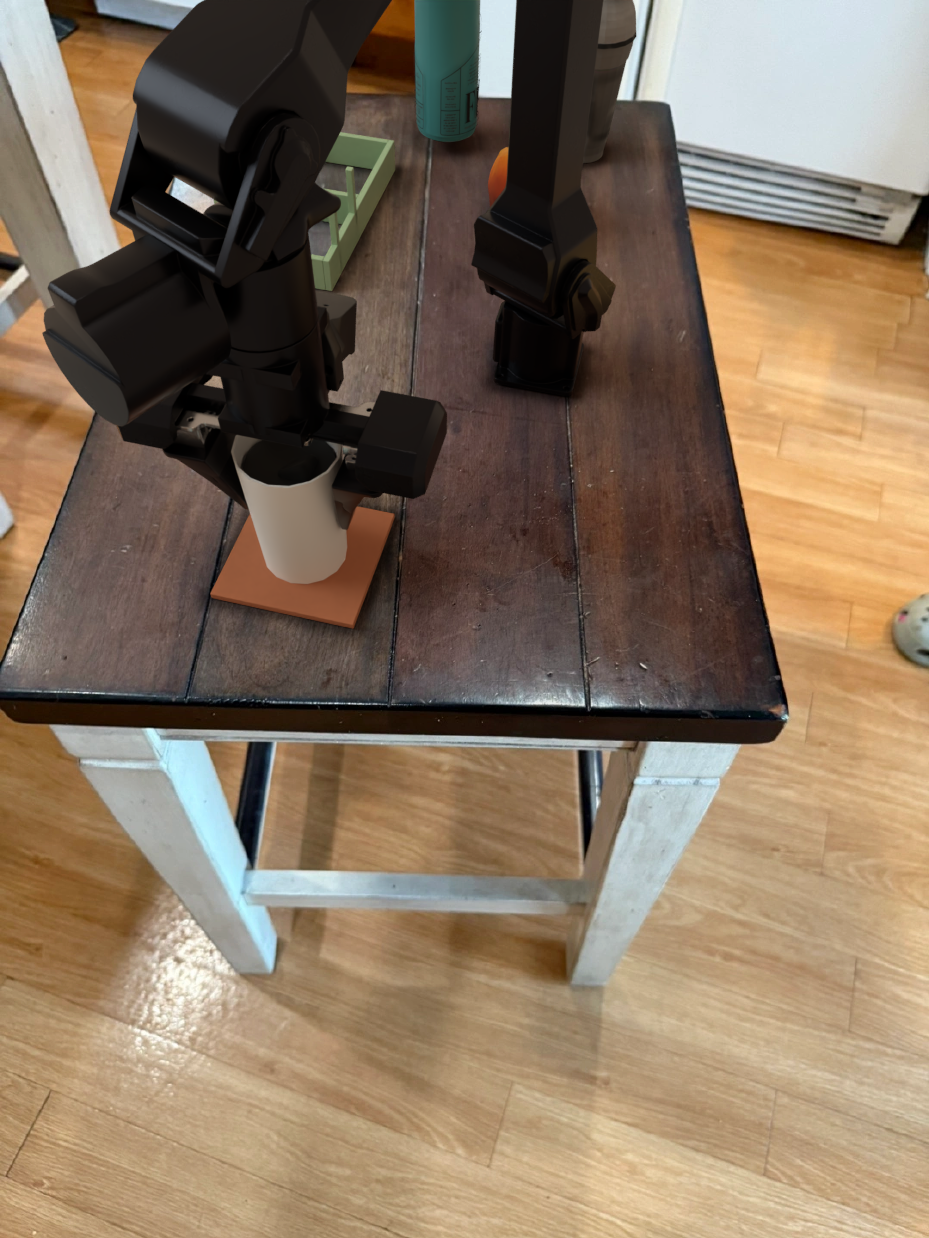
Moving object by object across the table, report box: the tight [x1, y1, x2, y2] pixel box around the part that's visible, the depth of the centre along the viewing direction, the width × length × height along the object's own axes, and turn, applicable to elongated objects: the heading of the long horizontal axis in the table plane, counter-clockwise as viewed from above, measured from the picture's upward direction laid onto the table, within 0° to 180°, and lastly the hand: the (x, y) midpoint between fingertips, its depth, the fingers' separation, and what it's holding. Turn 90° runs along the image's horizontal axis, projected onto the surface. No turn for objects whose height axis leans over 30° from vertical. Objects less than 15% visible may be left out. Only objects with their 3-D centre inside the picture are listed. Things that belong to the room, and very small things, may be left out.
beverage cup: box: [583, 0, 637, 164], centre depth 87 cm, size 7×7×20 cm
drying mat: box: [210, 505, 396, 630], centre depth 64 cm, size 10×10×1 cm
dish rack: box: [213, 131, 396, 292], centre depth 85 cm, size 11×20×7 cm, turn 167°
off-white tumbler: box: [231, 435, 347, 584], centre depth 60 cm, size 7×7×10 cm
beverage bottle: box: [413, 0, 483, 143], centre depth 88 cm, size 6×7×20 cm
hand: (298, 514), depth 61 cm, fingers open, 6 cm apart
